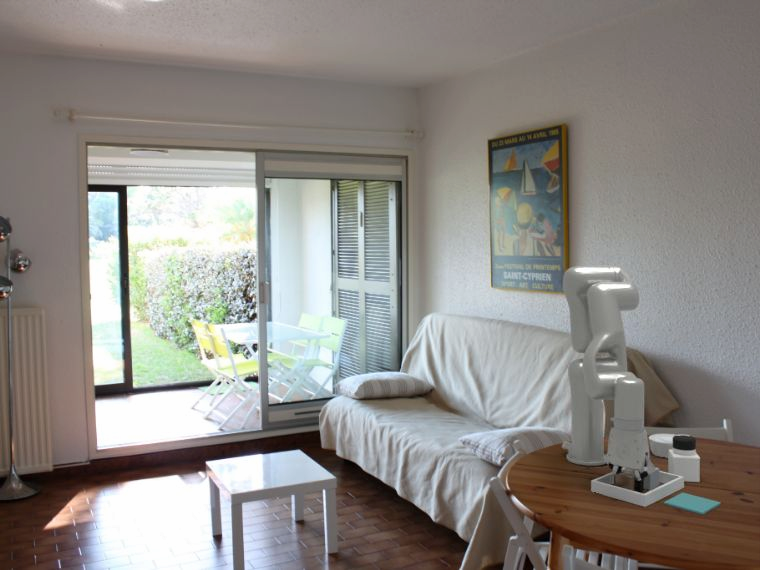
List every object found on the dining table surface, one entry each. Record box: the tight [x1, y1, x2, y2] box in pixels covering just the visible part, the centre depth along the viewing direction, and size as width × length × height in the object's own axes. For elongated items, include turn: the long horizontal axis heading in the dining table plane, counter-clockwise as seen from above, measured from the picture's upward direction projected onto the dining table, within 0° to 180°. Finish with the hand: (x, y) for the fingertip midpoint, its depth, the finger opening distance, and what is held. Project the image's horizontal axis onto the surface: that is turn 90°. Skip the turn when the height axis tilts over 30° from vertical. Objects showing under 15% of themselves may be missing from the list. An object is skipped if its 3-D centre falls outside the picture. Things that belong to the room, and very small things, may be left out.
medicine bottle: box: [667, 434, 701, 483], centre depth 202 cm, size 7×7×12 cm
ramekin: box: [648, 433, 677, 459], centre depth 225 cm, size 11×11×5 cm
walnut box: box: [614, 470, 636, 491], centre depth 191 cm, size 5×5×5 cm
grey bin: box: [590, 467, 685, 508], centre depth 194 cm, size 16×21×3 cm
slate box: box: [633, 466, 661, 491], centre depth 197 cm, size 5×5×5 cm
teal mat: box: [663, 492, 722, 516], centre depth 182 cm, size 10×10×1 cm
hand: (628, 490), depth 191 cm, fingers closed on walnut box, 5 cm apart
